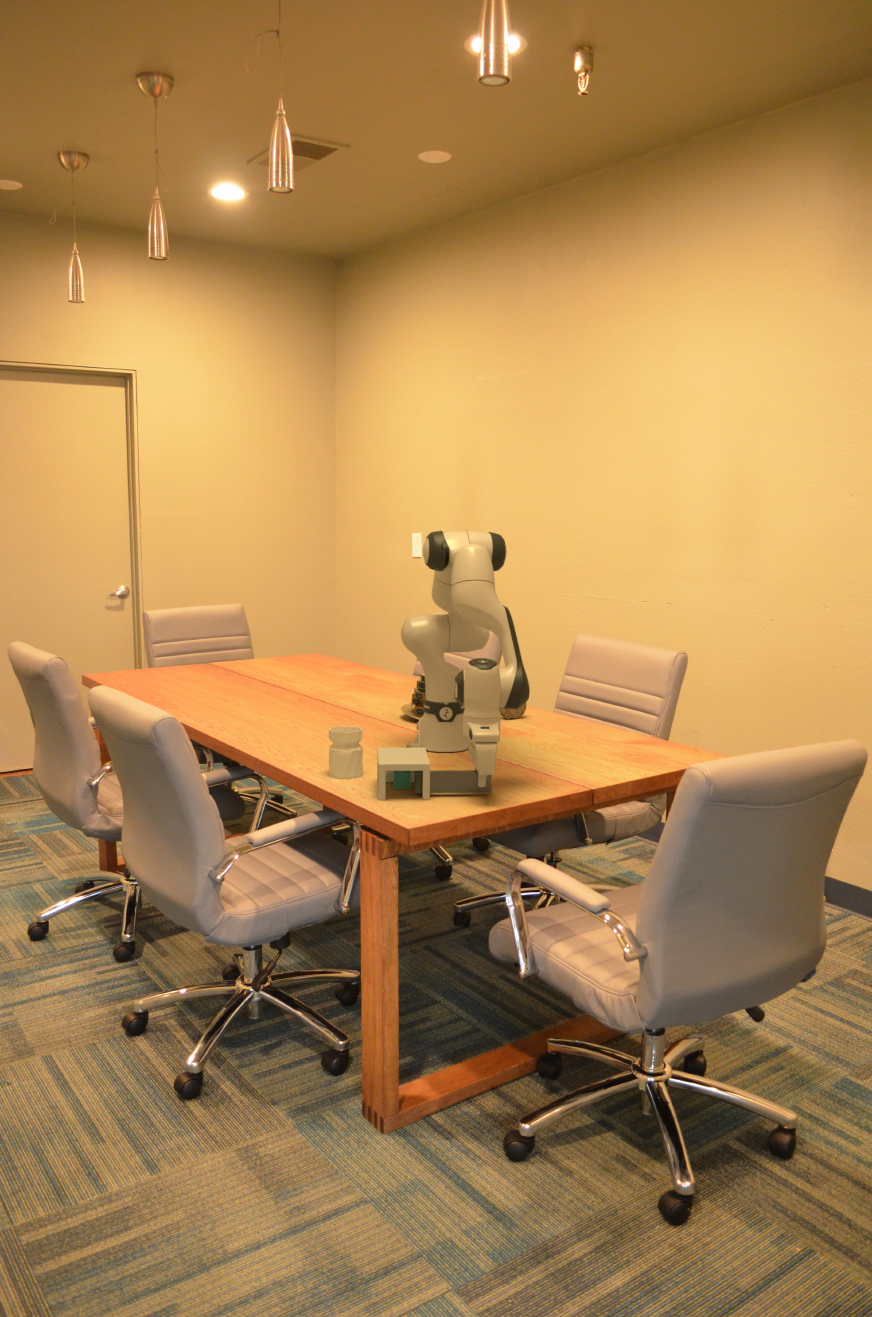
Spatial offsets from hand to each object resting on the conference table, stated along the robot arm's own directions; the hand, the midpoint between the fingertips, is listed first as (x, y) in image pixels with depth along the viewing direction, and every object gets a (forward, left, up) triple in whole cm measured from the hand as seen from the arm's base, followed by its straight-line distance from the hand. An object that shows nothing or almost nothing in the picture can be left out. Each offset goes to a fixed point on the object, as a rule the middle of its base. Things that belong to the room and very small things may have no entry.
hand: (480, 784), depth 236 cm
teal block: (-9, -18, -3) cm, 21 cm away
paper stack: (-98, -3, -3) cm, 98 cm away
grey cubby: (-5, -18, -3) cm, 19 cm away
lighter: (-19, -18, -3) cm, 26 cm away
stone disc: (-98, +23, -3) cm, 100 cm away
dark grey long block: (-2, -7, -2) cm, 7 cm away
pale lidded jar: (-21, -32, -3) cm, 39 cm away
